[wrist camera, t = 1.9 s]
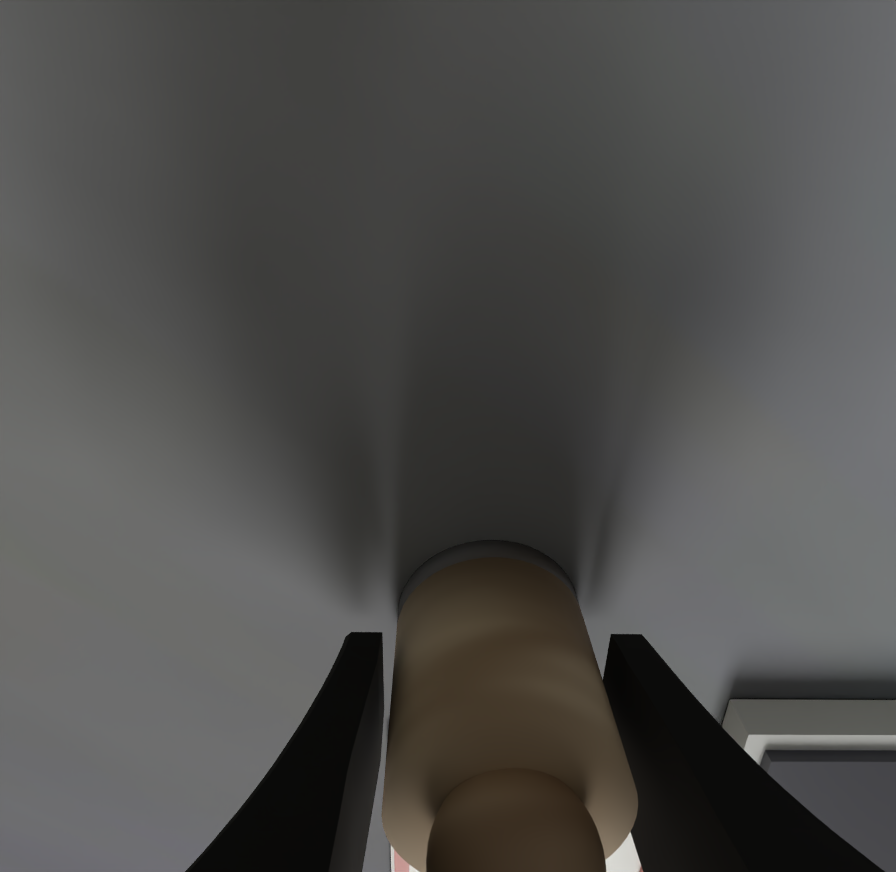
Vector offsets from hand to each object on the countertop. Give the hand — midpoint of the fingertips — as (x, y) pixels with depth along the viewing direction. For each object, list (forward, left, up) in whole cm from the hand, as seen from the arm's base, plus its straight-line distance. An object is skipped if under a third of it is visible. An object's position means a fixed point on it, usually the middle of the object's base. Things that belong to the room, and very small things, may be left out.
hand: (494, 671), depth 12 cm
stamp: (0, 0, -2) cm, 2 cm away
